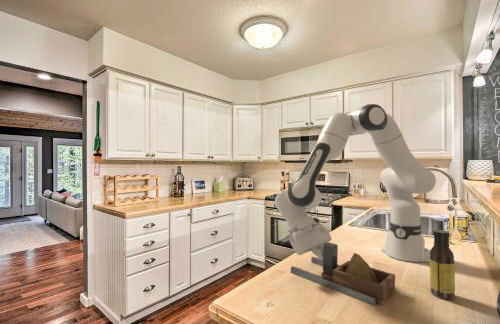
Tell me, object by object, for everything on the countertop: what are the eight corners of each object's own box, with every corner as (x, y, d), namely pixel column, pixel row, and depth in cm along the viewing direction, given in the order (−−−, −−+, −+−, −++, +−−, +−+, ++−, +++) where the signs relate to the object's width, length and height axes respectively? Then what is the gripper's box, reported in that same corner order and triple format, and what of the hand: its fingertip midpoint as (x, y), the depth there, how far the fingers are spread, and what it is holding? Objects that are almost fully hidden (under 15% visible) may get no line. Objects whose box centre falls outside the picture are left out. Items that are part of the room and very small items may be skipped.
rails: (312, 261, 106) (313, 256, 106) (392, 288, 85) (392, 282, 85) (290, 272, 96) (290, 266, 96) (375, 305, 74) (375, 298, 74)
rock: (388, 281, 84) (363, 266, 93) (381, 264, 81) (355, 250, 90) (368, 306, 81) (343, 288, 90) (360, 290, 78) (335, 273, 87)
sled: (332, 269, 98) (333, 239, 98) (394, 290, 83) (395, 255, 82) (316, 278, 90) (316, 246, 90) (381, 304, 75) (382, 265, 75)
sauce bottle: (457, 296, 80) (459, 232, 80) (450, 302, 76) (451, 235, 76) (433, 287, 85) (434, 227, 85) (425, 293, 81) (426, 230, 81)
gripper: (290, 226, 92) (313, 262, 86) (321, 217, 107) (343, 247, 100) (280, 236, 96) (302, 271, 89) (311, 226, 110) (332, 255, 103)
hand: (324, 258), depth 94 cm, fingers closed, pressing on sled
